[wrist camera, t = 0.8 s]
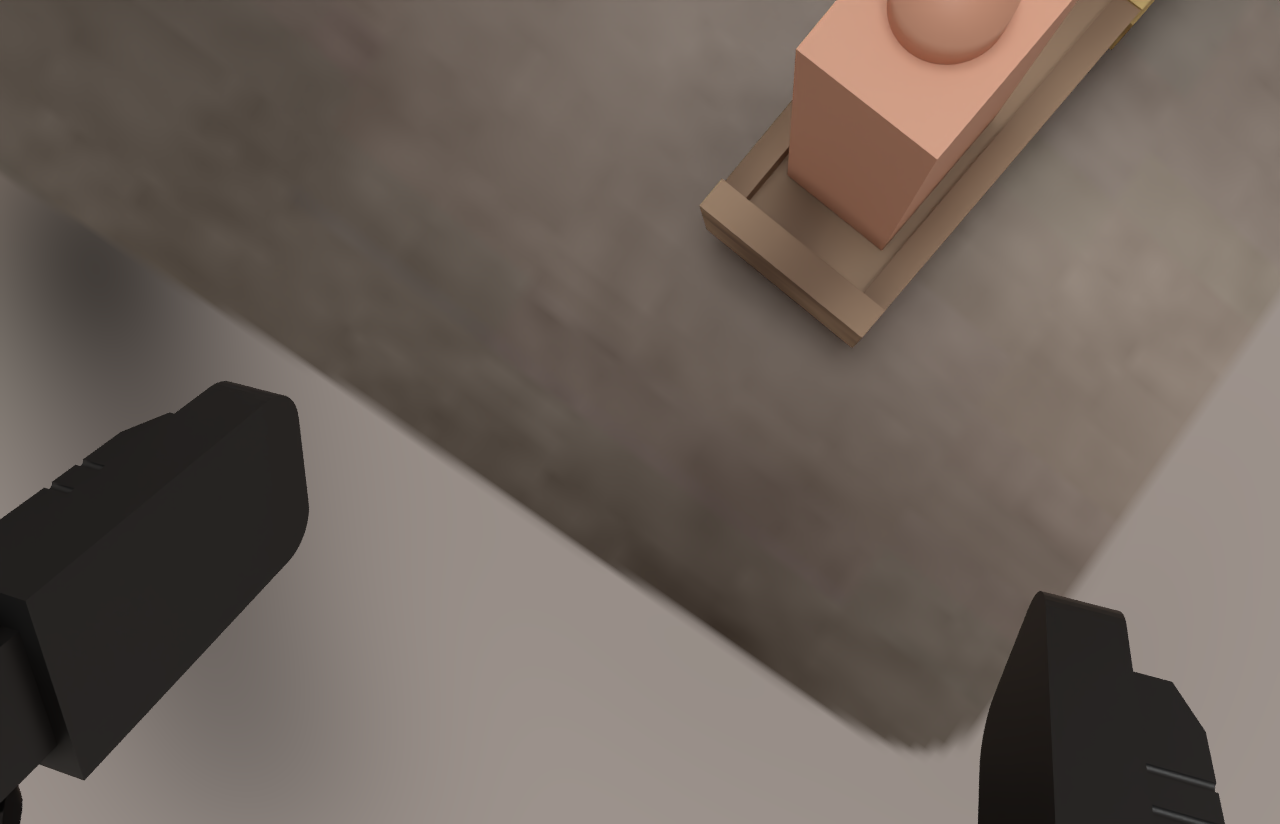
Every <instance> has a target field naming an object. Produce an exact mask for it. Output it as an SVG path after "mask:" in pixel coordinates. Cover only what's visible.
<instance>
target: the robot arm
mask: <svg viewBox="0 0 1280 824" xmlns="http://www.w3.org/2000/svg"><path fill="white" fill-rule="evenodd" d="M308 514H309V503H308V494H307V486H306V477H305V469H304V460H303V451H302V443H301V434H300V425H299V417H298V412H297V409H296V406H295V404H294V402H293V401H292V400H291V399H290V398H288V397H287V396H284V395H280V394H276V393H271V392H268V391H264V390H260V389H256V388H252V387H248V386H244V385H241V384H237V383H232V382H228V381H223V382H219V383H216V384H214V385H213V386H211V387H209V388H208V389H207V390H205V391H204V392H203V393H201V394H200V395H199V396H197V397H196V398H195V399H193V400H192V401H191V402H190V403H188V404H187V405H186V406H184V407H183V408H181V409H180V410H179V411H177V412H176V413H175V414H173V413H167V414H165V415H162V416H160V417H157V418H155V419H152V420H150V421H147V422H145V423H143V424H140V425H137V426H135V427H132V428H130V429H128V430H125V431H122V432H120V433H119V434H118V435H116V436H115V437H113V438H112V439H111V440H109V441H108V442H106V443H105V444H104V445H102V446H101V447H100V448H98V449H97V450H95V451H94V452H93V453H91V454H90V455H89V456H87V457H86V458H84V459H83V464H82V465H81V466H78V465H75V466H73V467H72V468H71V469H69V470H68V471H66V472H65V473H64V474H62V475H61V476H60V477H58V478H57V479H55V480H54V481H53V482H52V486H51V488H50V489H47V488H43V489H42V490H40V491H39V492H38V493H36V494H35V495H33V496H32V497H31V498H29V499H28V500H26V501H25V502H24V503H23V504H21V505H20V506H19V507H17V508H16V509H14V510H13V511H11V512H10V513H8V514H7V515H6V516H4V517H3V518H2V519H0V824H20V820H21V814H22V801H23V800H22V796H21V791H20V789H19V786H18V785H19V784H20V783H21V782H22V781H23V780H24V779H25V778H26V777H27V776H28V775H29V774H30V773H31V772H32V771H33V769H35V768H36V767H37V766H38V765H39V764H40V765H43V766H45V767H48V768H51V769H54V770H57V771H59V772H62V773H65V774H68V775H70V776H73V777H76V778H79V779H82V780H85V779H86V778H87V777H88V776H89V775H90V774H91V773H92V772H93V771H94V769H95V768H96V767H97V766H98V765H99V764H100V763H101V762H102V761H103V760H104V759H105V758H106V756H107V755H108V754H109V753H110V752H111V751H112V750H113V749H114V748H115V747H116V746H117V745H118V744H119V743H120V742H121V740H122V739H123V738H124V737H125V736H126V735H127V734H128V733H129V732H130V731H131V730H132V728H134V727H135V725H136V724H137V723H138V722H139V721H140V720H141V719H142V718H143V717H144V716H145V715H146V714H147V713H148V712H149V710H150V709H151V708H152V707H153V706H154V705H155V704H156V703H157V702H158V701H159V700H160V699H161V698H162V697H163V695H164V694H165V693H166V692H167V691H168V690H169V689H170V688H171V687H172V686H173V685H174V684H175V682H176V681H177V680H178V679H179V678H180V677H181V676H182V675H183V674H184V673H185V672H186V671H187V670H188V669H189V668H190V666H191V665H192V664H193V663H194V662H195V661H196V660H197V659H198V658H199V657H200V656H201V655H202V654H203V653H204V651H205V650H206V649H207V648H208V647H209V646H210V645H211V644H212V643H213V642H214V641H215V640H216V639H217V638H218V636H219V635H220V634H221V633H222V632H223V631H224V630H225V629H226V628H227V627H228V626H229V625H230V624H231V622H232V621H233V620H234V619H235V618H236V617H237V616H238V615H239V614H240V613H241V612H242V611H243V610H244V609H245V607H246V606H247V605H248V604H249V603H250V602H251V601H252V600H253V599H254V598H255V597H256V596H257V594H259V592H260V591H261V590H262V589H263V588H264V587H265V586H266V585H267V584H268V583H269V582H270V581H271V579H272V578H273V577H274V576H275V575H276V574H277V573H278V572H279V571H280V570H281V569H282V568H283V567H284V566H285V565H286V563H287V562H288V561H289V560H290V559H291V558H292V556H293V555H294V553H295V552H296V550H297V549H298V547H299V545H300V543H301V540H302V538H303V536H304V533H305V530H306V526H307V521H308ZM1215 785H1216V779H1215V774H1214V770H1213V765H1212V760H1211V755H1210V751H1209V746H1208V741H1207V736H1206V732H1205V730H1204V729H1203V727H1202V726H1201V724H1200V723H1199V721H1198V720H1197V718H1196V717H1195V715H1194V714H1193V713H1192V711H1191V709H1190V708H1189V706H1188V705H1187V704H1186V702H1185V700H1184V699H1183V698H1182V696H1181V694H1180V693H1179V691H1178V690H1177V688H1176V687H1175V686H1174V684H1173V683H1172V682H1170V681H1167V680H1163V679H1159V678H1155V677H1152V676H1148V675H1144V674H1140V673H1137V672H1133V668H1132V661H1131V654H1130V648H1129V640H1128V632H1127V626H1126V621H1125V618H1124V615H1123V614H1122V613H1121V612H1120V611H1117V610H1112V609H1109V608H1105V607H1101V606H1097V605H1093V604H1089V603H1085V602H1081V601H1078V600H1074V599H1070V598H1066V597H1062V596H1058V595H1054V594H1050V593H1046V592H1042V591H1039V592H1038V593H1037V594H1036V595H1035V596H1034V598H1033V600H1032V602H1031V604H1030V606H1029V608H1028V611H1027V613H1026V616H1025V618H1024V621H1023V623H1022V626H1021V629H1020V631H1019V634H1018V636H1017V639H1016V641H1015V644H1014V646H1013V649H1012V651H1011V654H1010V656H1009V659H1008V661H1007V664H1006V666H1005V669H1004V672H1003V674H1002V677H1001V679H1000V682H999V684H998V687H997V689H996V692H995V694H994V697H993V700H992V702H991V706H990V709H989V712H988V716H987V720H986V724H985V729H984V734H983V740H982V747H981V756H980V772H979V806H978V824H1225V822H1224V817H1223V813H1222V808H1221V803H1220V798H1219V794H1218V793H1216V792H1215Z"/></svg>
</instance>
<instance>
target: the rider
mask: <svg viewBox="0 0 1280 824" xmlns="http://www.w3.org/2000/svg"><path fill="white" fill-rule="evenodd" d="M1077 1H1078V0H836V1H835V3H834V4H833V5H832V6H831V7H830V9H829V10H828V11H827V12H826V14H825V15H824V16H823V17H822V18H821V20H820V21H819V22H818V23H817V24H816V26H815V27H814V28H813V29H812V30H811V32H810V33H809V34H808V35H807V36H806V38H805V39H804V40H803V41H802V43H801V44H800V45H799V46H798V47H797V49H796V57H795V71H794V86H793V100H792V114H791V129H790V143H789V158H788V172H787V175H788V176H789V177H790V178H792V179H793V180H794V181H795V182H797V183H798V184H799V185H800V186H802V187H803V188H804V189H805V190H807V191H808V192H809V193H810V194H812V195H813V196H814V197H815V198H817V199H818V200H819V201H820V202H822V203H823V204H824V205H825V206H827V207H828V208H829V209H830V210H832V211H833V212H834V213H835V214H837V215H838V216H839V217H840V218H842V219H843V220H844V221H845V222H847V223H848V224H849V225H850V226H852V227H853V228H854V229H855V230H857V231H858V232H859V233H860V234H862V235H863V236H864V237H865V238H867V239H868V240H869V241H870V242H872V243H873V244H874V245H875V246H877V247H878V248H879V249H880V250H883V249H884V248H885V246H886V245H887V244H888V243H889V242H890V241H891V239H892V238H893V237H894V236H895V235H896V233H897V232H898V231H899V230H900V229H901V228H902V226H903V225H904V224H905V223H906V222H907V220H908V219H909V218H910V217H911V216H912V215H913V213H914V212H915V211H916V210H917V209H918V207H919V206H920V205H921V204H922V203H923V202H924V200H925V199H926V198H927V197H928V196H929V195H930V193H931V192H932V191H933V190H934V189H935V187H936V186H937V185H938V184H939V183H940V182H941V180H942V179H943V178H944V177H945V176H946V174H947V173H948V172H949V171H950V170H951V169H952V167H953V166H954V165H955V164H956V163H957V161H958V160H959V159H960V158H961V157H962V156H963V154H964V153H965V152H966V151H967V150H968V148H969V147H970V146H971V145H972V144H973V143H974V141H975V140H976V139H977V138H978V137H979V136H980V134H981V133H982V132H983V131H984V130H985V128H986V127H987V126H988V125H989V124H990V123H991V121H992V120H993V119H994V118H995V116H996V115H997V114H998V112H999V111H1000V109H1001V108H1002V107H1003V105H1004V104H1005V102H1006V101H1007V99H1008V98H1009V97H1010V95H1011V94H1012V92H1013V91H1014V90H1015V88H1016V87H1017V85H1018V84H1019V83H1020V81H1021V80H1022V78H1023V77H1024V75H1025V74H1026V73H1027V71H1028V70H1029V68H1030V67H1031V66H1032V64H1033V63H1034V61H1035V60H1036V59H1037V57H1038V56H1039V54H1040V53H1041V51H1042V50H1043V49H1044V47H1045V46H1046V44H1047V43H1048V42H1049V40H1050V39H1051V37H1052V36H1053V35H1054V33H1055V32H1056V30H1057V29H1058V27H1059V26H1060V25H1061V23H1062V22H1063V20H1064V19H1065V18H1066V16H1067V15H1068V13H1069V12H1070V11H1071V9H1072V8H1073V6H1074V5H1075V3H1076V2H1077Z"/></svg>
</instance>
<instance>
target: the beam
mask: <svg viewBox="0 0 1280 824" xmlns="http://www.w3.org/2000/svg"><path fill="white" fill-rule="evenodd" d="M1153 2H1154V0H1078V1H1077V2H1076V3H1075V5H1074V6H1073V8H1072V9H1071V11H1070V12H1069V13H1068V15H1067V16H1066V18H1065V19H1064V20H1063V22H1062V23H1061V25H1060V26H1059V27H1058V29H1057V30H1056V32H1055V33H1054V35H1053V36H1052V37H1051V39H1050V40H1049V42H1048V43H1047V44H1046V46H1045V47H1044V49H1043V50H1042V51H1041V53H1040V54H1039V56H1038V57H1037V59H1036V60H1035V61H1034V63H1033V64H1032V66H1031V67H1030V68H1029V70H1028V71H1027V73H1026V74H1025V75H1024V77H1023V78H1022V80H1021V81H1020V83H1019V84H1018V85H1017V87H1016V88H1015V90H1014V91H1013V92H1012V94H1011V95H1010V97H1009V98H1008V99H1007V101H1006V102H1005V104H1004V105H1003V107H1002V108H1001V109H1000V111H999V112H998V114H997V115H996V116H995V118H994V119H993V120H992V121H991V123H990V124H989V125H988V126H987V127H986V128H985V130H984V131H983V132H982V133H981V134H980V136H979V137H978V138H977V139H976V140H975V141H974V143H973V144H972V145H971V146H970V147H969V148H968V150H967V151H966V152H965V153H964V154H963V156H962V157H961V158H960V159H959V160H958V161H957V163H956V164H955V165H954V166H953V167H952V169H951V170H950V171H949V172H948V173H947V174H946V176H945V177H944V178H943V179H942V180H941V182H940V183H939V184H938V185H937V186H936V187H935V189H934V190H933V191H932V192H931V193H930V195H929V196H928V197H927V198H926V199H925V200H924V202H923V203H922V204H921V205H920V206H919V207H918V209H917V210H916V211H915V212H914V213H913V215H912V216H911V217H910V218H909V219H908V220H907V222H906V223H905V224H904V225H903V226H902V228H901V229H900V230H899V231H898V232H897V233H896V235H895V236H894V237H893V238H892V239H891V241H890V242H889V243H888V244H887V245H886V246H885V248H884V249H883V250H880V249H879V248H878V247H877V246H875V245H874V244H873V243H872V242H870V241H869V240H868V239H867V238H865V237H864V236H863V235H862V234H860V233H859V232H858V231H857V230H855V229H854V228H853V227H852V226H850V225H849V224H848V223H847V222H845V221H844V220H843V219H842V218H840V217H839V216H838V215H837V214H835V213H834V212H833V211H832V210H830V209H829V208H828V207H827V206H825V205H824V204H823V203H822V202H820V201H819V200H818V199H817V198H815V197H814V196H813V195H812V194H810V193H809V192H808V191H807V190H805V189H804V188H803V187H802V186H800V185H799V184H798V183H797V182H795V181H794V180H793V179H792V178H790V177H789V176H788V175H787V172H788V158H789V143H790V129H791V114H792V101H791V102H790V103H789V105H788V106H787V107H786V108H785V109H784V111H783V112H782V113H781V114H780V115H779V117H778V118H777V119H776V120H775V121H774V123H773V124H772V125H771V126H770V127H769V129H768V130H767V131H766V132H765V133H764V135H763V136H762V137H761V138H760V139H759V141H758V142H757V143H756V144H755V145H754V147H753V148H752V149H751V150H750V152H749V153H748V154H747V155H746V156H745V158H744V159H743V160H742V161H741V162H740V164H739V165H738V166H737V167H736V168H735V170H734V171H733V172H732V173H731V174H730V176H729V177H728V178H727V179H726V180H725V181H724V180H723V179H721V180H720V181H719V183H718V184H717V185H716V186H715V187H714V189H713V190H712V191H711V192H710V193H709V195H708V196H707V197H706V198H705V199H704V201H703V202H702V203H701V204H700V209H701V212H702V215H703V219H704V222H705V225H706V229H707V230H708V231H710V232H711V233H712V234H713V235H714V236H716V237H717V238H718V239H719V240H721V241H722V242H723V243H724V244H725V245H727V246H728V247H729V248H730V249H732V250H733V251H734V252H735V253H736V254H738V255H739V256H740V257H741V258H743V259H744V260H745V261H746V262H747V263H749V264H750V265H751V266H752V267H754V268H755V269H756V270H757V271H758V272H760V273H761V274H762V275H763V276H765V277H766V278H767V279H768V280H770V281H771V282H772V283H773V284H774V285H776V286H777V287H778V288H779V289H781V290H782V291H783V292H784V293H785V294H787V295H788V296H789V297H790V298H792V299H793V300H794V301H795V302H796V303H798V304H799V305H800V306H801V307H803V308H804V309H805V310H806V311H807V312H809V313H810V314H811V315H812V316H814V317H815V318H816V319H817V320H818V321H820V322H821V323H822V324H823V325H825V326H826V327H827V328H828V329H829V330H831V331H832V332H833V333H834V334H836V335H837V336H838V337H839V338H840V339H842V340H843V341H844V342H845V343H847V344H848V345H849V346H850V347H852V348H853V347H854V346H855V345H856V344H857V343H858V342H859V341H860V339H861V338H862V337H863V336H864V335H865V334H866V333H867V331H868V330H869V329H870V328H871V327H872V326H873V324H874V323H875V322H876V321H877V320H878V318H879V317H880V316H881V315H882V314H883V313H884V311H885V310H886V309H887V308H888V307H889V305H890V304H891V303H892V302H893V301H894V299H895V298H896V297H897V296H898V295H899V294H900V292H901V291H902V290H903V289H904V288H905V287H906V285H907V284H908V283H909V282H910V281H911V280H912V278H913V277H914V276H915V275H916V274H917V272H918V271H919V270H920V269H921V268H922V267H923V265H924V264H925V263H926V262H927V261H928V260H929V258H930V257H931V256H932V255H933V254H934V253H935V251H936V250H937V249H938V248H939V247H940V245H941V244H942V243H943V242H944V241H945V240H946V238H947V237H948V236H949V235H950V234H951V233H952V231H953V230H954V229H955V228H956V227H957V226H958V224H959V223H960V222H961V221H962V220H963V218H964V217H965V216H966V215H967V214H968V213H969V211H970V210H971V209H972V208H973V207H974V206H975V204H976V203H977V202H978V201H979V200H980V199H981V197H982V196H983V195H984V194H985V193H986V191H987V190H988V189H989V188H990V187H991V186H992V184H993V183H994V182H995V181H996V180H997V179H998V177H999V176H1000V175H1001V174H1002V173H1003V172H1004V170H1005V169H1006V168H1007V167H1008V166H1009V164H1010V163H1011V162H1012V161H1013V160H1014V159H1015V157H1016V156H1017V155H1018V154H1019V153H1020V152H1021V150H1022V149H1023V148H1024V147H1025V146H1026V144H1027V143H1028V142H1029V141H1030V140H1031V139H1032V137H1033V136H1034V135H1035V134H1036V133H1037V132H1038V130H1039V129H1040V128H1041V127H1042V126H1043V125H1044V123H1045V122H1046V121H1047V120H1048V119H1049V117H1050V116H1051V115H1052V114H1053V113H1054V112H1055V110H1056V109H1057V108H1058V107H1059V106H1060V105H1061V103H1062V102H1063V101H1064V100H1065V99H1066V98H1067V96H1068V95H1069V94H1070V93H1071V92H1072V90H1073V89H1074V88H1075V87H1076V86H1077V85H1078V83H1079V82H1080V81H1081V80H1082V79H1083V78H1084V76H1085V75H1086V74H1087V73H1088V72H1089V71H1090V69H1091V68H1092V67H1093V66H1094V65H1095V63H1096V62H1097V61H1098V60H1099V59H1100V58H1101V56H1102V55H1103V54H1104V53H1105V52H1106V51H1107V49H1108V48H1110V49H1111V50H1112V49H1113V48H1114V46H1115V45H1116V44H1117V43H1118V42H1119V41H1120V40H1121V39H1122V37H1123V36H1124V35H1125V34H1126V33H1127V32H1128V31H1129V30H1130V28H1131V27H1132V26H1133V25H1134V24H1135V23H1136V21H1137V20H1138V19H1139V18H1140V17H1141V16H1142V14H1143V13H1144V12H1145V11H1146V10H1147V9H1148V7H1149V6H1150V5H1151V4H1152V3H1153Z"/></svg>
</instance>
